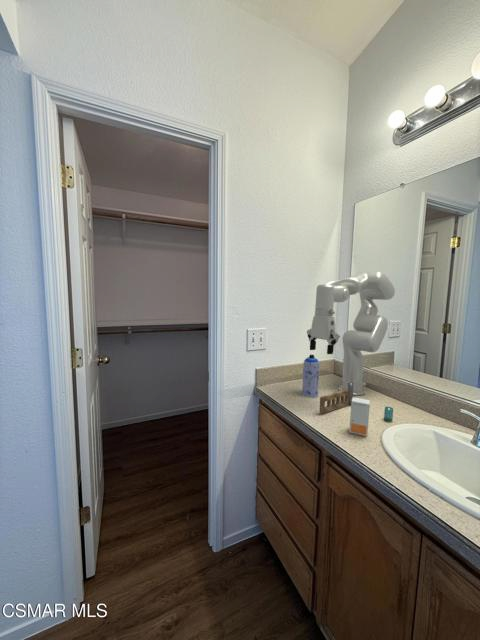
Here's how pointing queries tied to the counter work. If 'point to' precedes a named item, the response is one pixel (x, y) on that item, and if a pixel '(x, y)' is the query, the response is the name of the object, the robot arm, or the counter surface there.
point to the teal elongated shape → (388, 410)
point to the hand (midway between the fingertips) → (320, 351)
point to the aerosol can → (310, 377)
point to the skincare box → (359, 416)
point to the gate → (334, 397)
